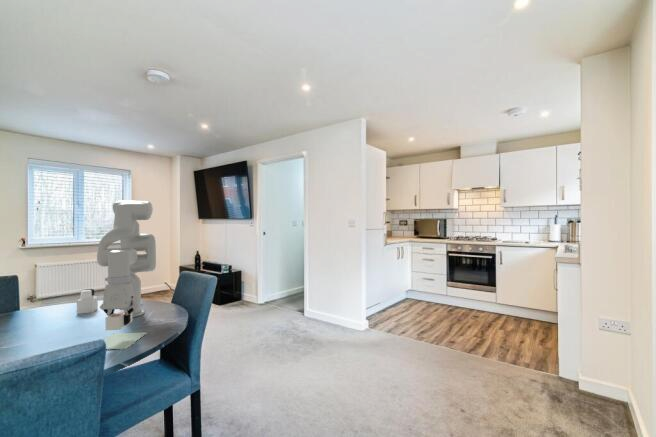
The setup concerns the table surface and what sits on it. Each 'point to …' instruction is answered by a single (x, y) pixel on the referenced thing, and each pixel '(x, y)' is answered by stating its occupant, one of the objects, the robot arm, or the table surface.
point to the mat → (122, 340)
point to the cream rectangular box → (116, 320)
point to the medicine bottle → (87, 302)
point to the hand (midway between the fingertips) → (119, 323)
